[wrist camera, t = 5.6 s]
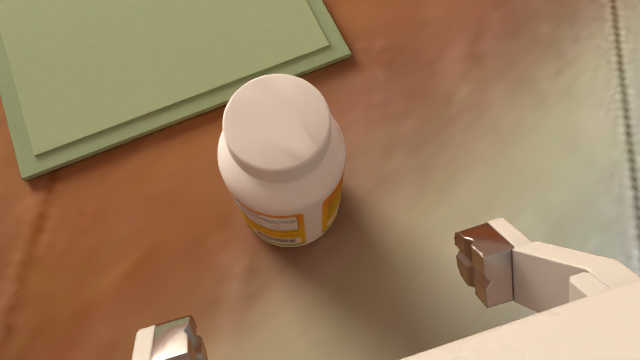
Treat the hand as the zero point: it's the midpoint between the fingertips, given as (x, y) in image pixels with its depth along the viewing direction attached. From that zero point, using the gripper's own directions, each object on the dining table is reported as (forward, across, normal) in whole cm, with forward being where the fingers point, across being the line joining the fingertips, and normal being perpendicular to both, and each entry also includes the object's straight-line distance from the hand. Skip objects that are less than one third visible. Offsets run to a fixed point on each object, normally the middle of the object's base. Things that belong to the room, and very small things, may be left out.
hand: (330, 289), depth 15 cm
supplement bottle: (+12, 0, +3) cm, 13 cm away
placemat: (+23, +5, -8) cm, 25 cm away
